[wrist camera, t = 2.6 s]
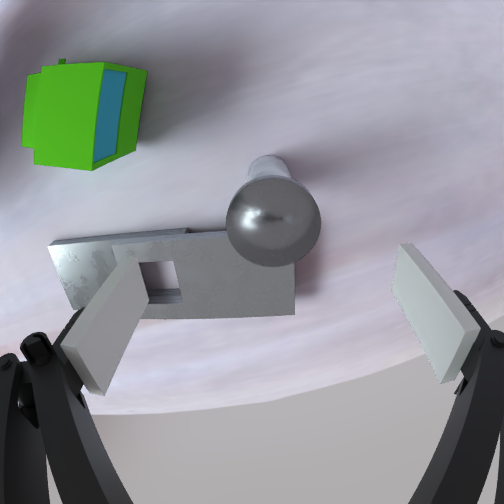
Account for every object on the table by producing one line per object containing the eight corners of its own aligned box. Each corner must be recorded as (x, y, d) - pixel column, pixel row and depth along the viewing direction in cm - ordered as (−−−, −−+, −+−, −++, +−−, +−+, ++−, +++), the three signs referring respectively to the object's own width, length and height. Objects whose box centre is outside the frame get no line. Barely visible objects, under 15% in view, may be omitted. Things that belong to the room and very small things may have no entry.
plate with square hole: (53, 241, 33) (41, 251, 31) (290, 220, 31) (293, 232, 29) (77, 303, 38) (68, 316, 35) (292, 298, 36) (294, 314, 33)
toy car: (52, 65, 23) (-8, 64, 14) (153, 62, 24) (107, 48, 15) (43, 148, 28) (-14, 170, 19) (138, 158, 29) (91, 184, 20)
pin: (237, 149, 28) (220, 182, 17) (295, 145, 28) (320, 176, 16) (242, 203, 31) (231, 269, 19) (297, 200, 30) (320, 264, 19)
